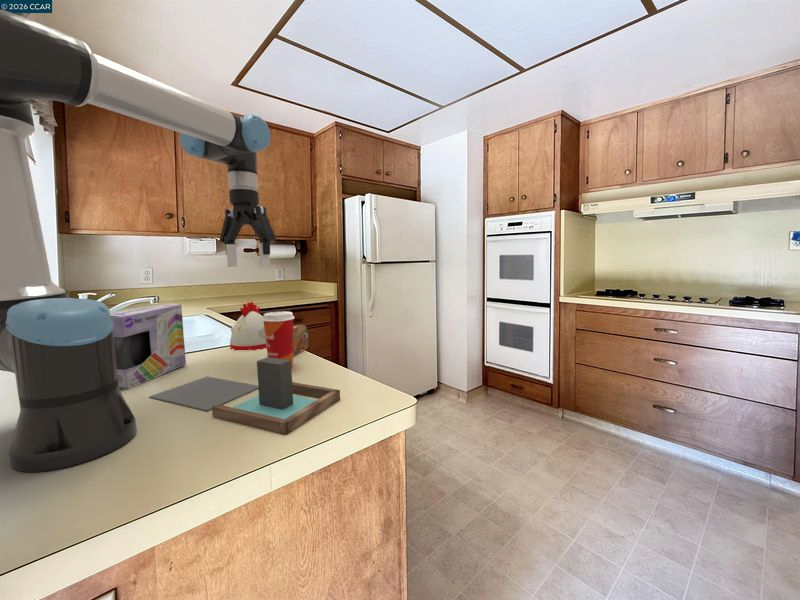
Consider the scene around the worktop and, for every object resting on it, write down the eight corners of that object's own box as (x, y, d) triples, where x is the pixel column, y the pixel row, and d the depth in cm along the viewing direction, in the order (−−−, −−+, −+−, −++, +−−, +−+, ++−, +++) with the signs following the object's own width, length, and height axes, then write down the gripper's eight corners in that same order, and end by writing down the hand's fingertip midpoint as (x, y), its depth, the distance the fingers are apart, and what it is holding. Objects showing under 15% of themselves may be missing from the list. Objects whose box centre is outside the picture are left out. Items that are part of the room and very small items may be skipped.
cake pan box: (125, 391, 82) (116, 314, 80) (106, 390, 83) (97, 314, 80) (188, 366, 101) (183, 303, 98) (172, 365, 101) (167, 303, 99)
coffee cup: (264, 365, 100) (261, 312, 98) (295, 362, 103) (293, 310, 101) (265, 374, 92) (261, 316, 90) (298, 370, 95) (295, 314, 93)
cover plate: (285, 425, 65) (283, 372, 64) (230, 412, 71) (227, 363, 70) (320, 404, 74) (318, 357, 73) (268, 394, 80) (266, 351, 79)
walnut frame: (285, 434, 61) (285, 423, 61) (212, 416, 68) (211, 406, 68) (340, 399, 76) (339, 390, 75) (275, 387, 83) (274, 379, 83)
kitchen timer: (220, 349, 119) (217, 304, 117) (250, 339, 131) (248, 299, 130) (255, 352, 114) (252, 305, 112) (282, 342, 127) (280, 300, 125)
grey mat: (207, 411, 70) (207, 410, 70) (149, 397, 78) (149, 396, 78) (261, 387, 83) (261, 386, 83) (207, 377, 90) (207, 376, 90)
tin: (288, 360, 105) (286, 331, 104) (278, 359, 106) (276, 331, 105) (310, 347, 120) (309, 322, 119) (301, 346, 120) (300, 322, 119)
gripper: (286, 188, 97) (290, 266, 100) (226, 196, 109) (231, 266, 112) (264, 183, 91) (268, 267, 93) (203, 192, 103) (208, 267, 105)
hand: (248, 267), depth 103 cm, fingers open, 13 cm apart
